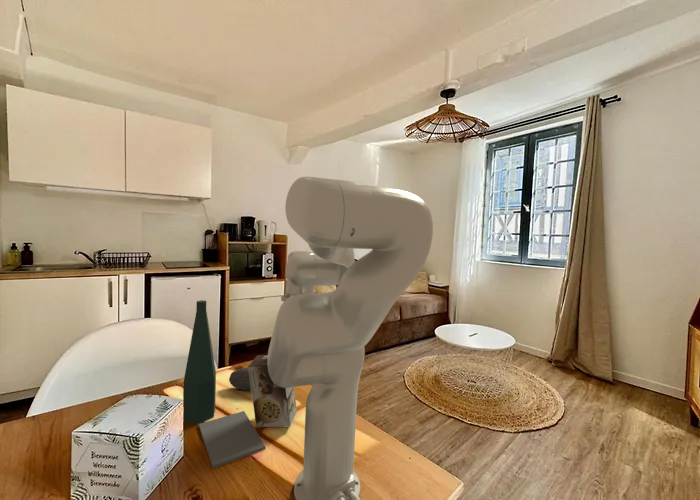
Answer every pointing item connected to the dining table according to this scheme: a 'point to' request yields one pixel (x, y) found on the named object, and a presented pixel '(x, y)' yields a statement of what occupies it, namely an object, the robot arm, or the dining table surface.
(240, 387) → the perforated stone tool
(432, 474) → the dining table surface
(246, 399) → the dining table surface
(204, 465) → the dining table surface
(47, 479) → the dining table surface
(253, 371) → the coffee box
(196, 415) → the bottle
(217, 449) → the mat
